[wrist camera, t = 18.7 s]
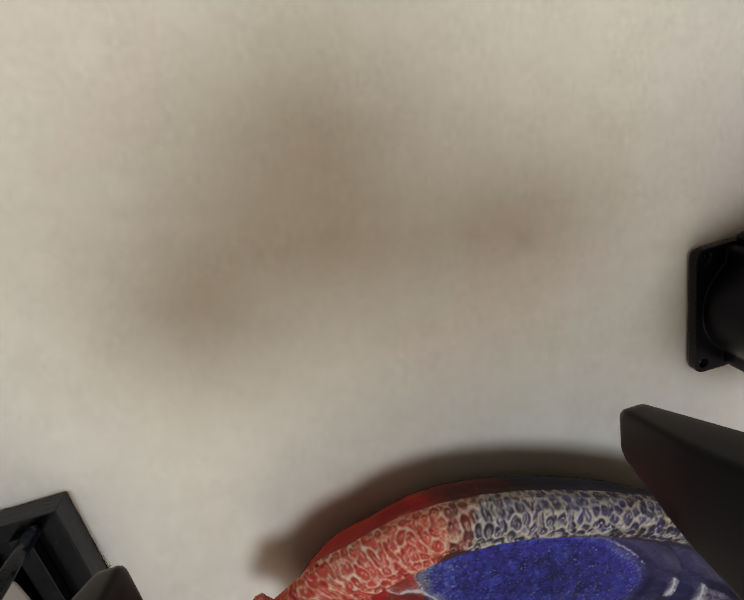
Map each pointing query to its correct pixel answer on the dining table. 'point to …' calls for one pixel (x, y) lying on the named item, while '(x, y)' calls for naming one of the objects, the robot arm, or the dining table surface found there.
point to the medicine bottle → (15, 593)
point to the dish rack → (46, 549)
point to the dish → (512, 547)
